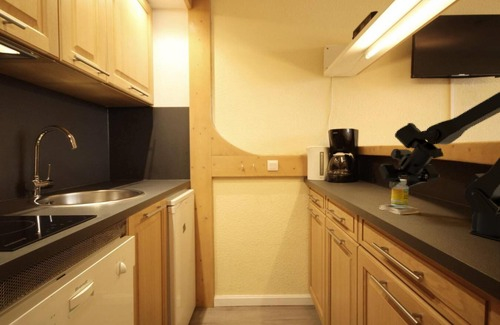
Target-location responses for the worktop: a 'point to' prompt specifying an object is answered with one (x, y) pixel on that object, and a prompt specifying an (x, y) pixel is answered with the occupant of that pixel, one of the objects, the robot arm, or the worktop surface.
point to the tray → (399, 209)
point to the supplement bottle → (400, 194)
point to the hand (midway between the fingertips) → (397, 187)
